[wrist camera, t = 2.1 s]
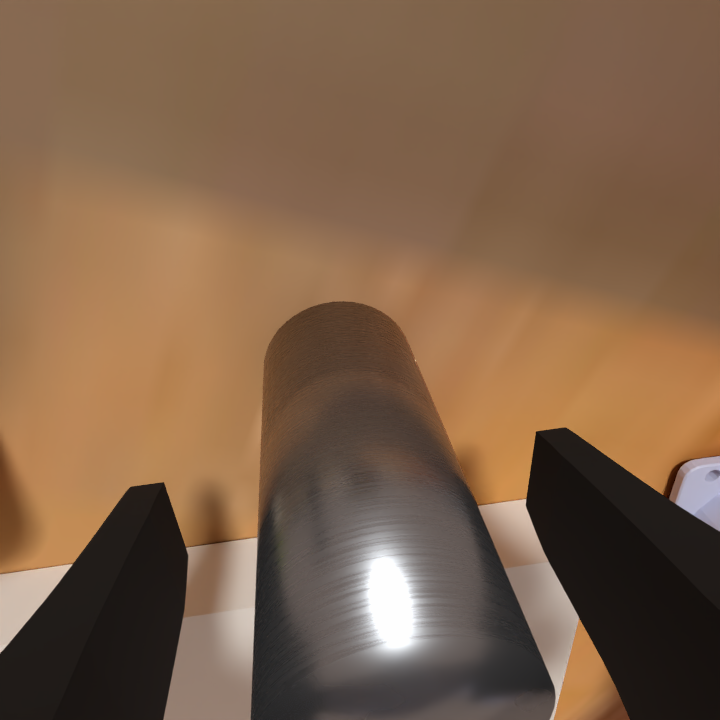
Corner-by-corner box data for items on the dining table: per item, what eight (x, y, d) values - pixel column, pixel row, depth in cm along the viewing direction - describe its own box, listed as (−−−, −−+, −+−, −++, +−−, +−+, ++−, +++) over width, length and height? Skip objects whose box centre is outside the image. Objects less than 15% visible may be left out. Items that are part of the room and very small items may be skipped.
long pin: (410, 293, 14) (577, 616, 6) (411, 418, 16) (537, 775, 8) (252, 310, 13) (220, 674, 6) (274, 436, 16) (273, 824, 8)
